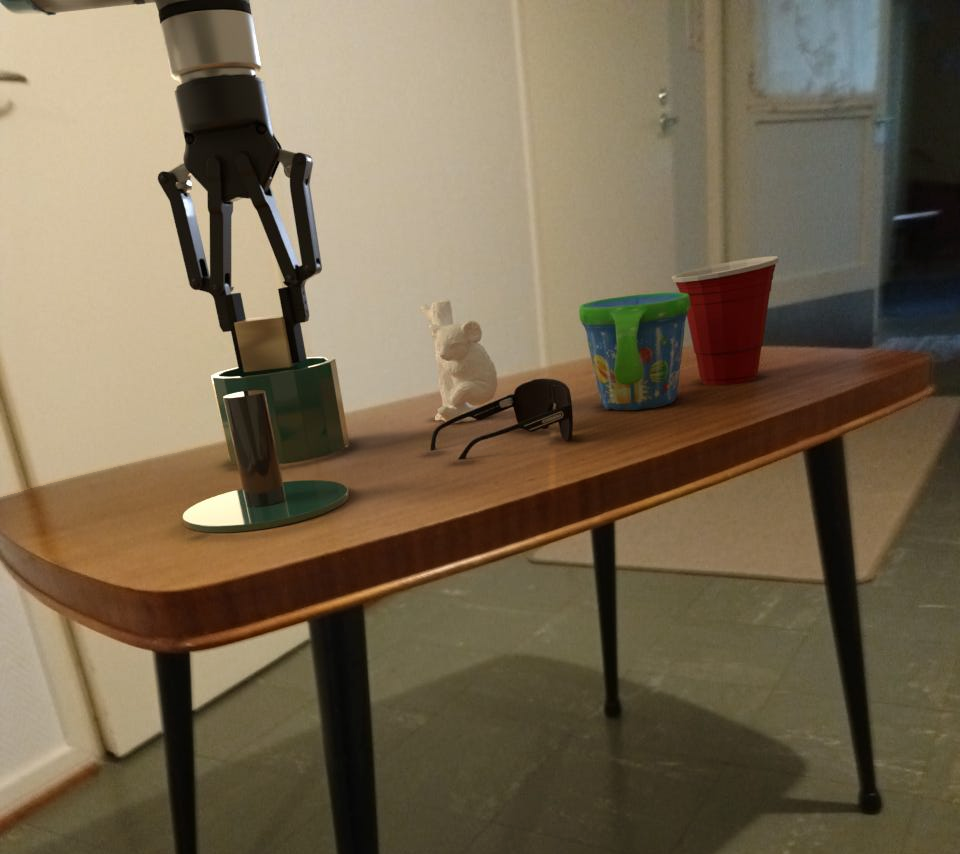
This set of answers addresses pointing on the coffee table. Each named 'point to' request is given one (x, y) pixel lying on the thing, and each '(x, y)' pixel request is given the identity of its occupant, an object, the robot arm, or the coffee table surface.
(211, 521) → the lid
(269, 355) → the block
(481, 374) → the koala figurine
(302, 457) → the tin
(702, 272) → the plastic cup
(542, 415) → the sunglasses
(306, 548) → the coffee table surface
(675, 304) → the snack cup
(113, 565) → the coffee table surface
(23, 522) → the coffee table surface
